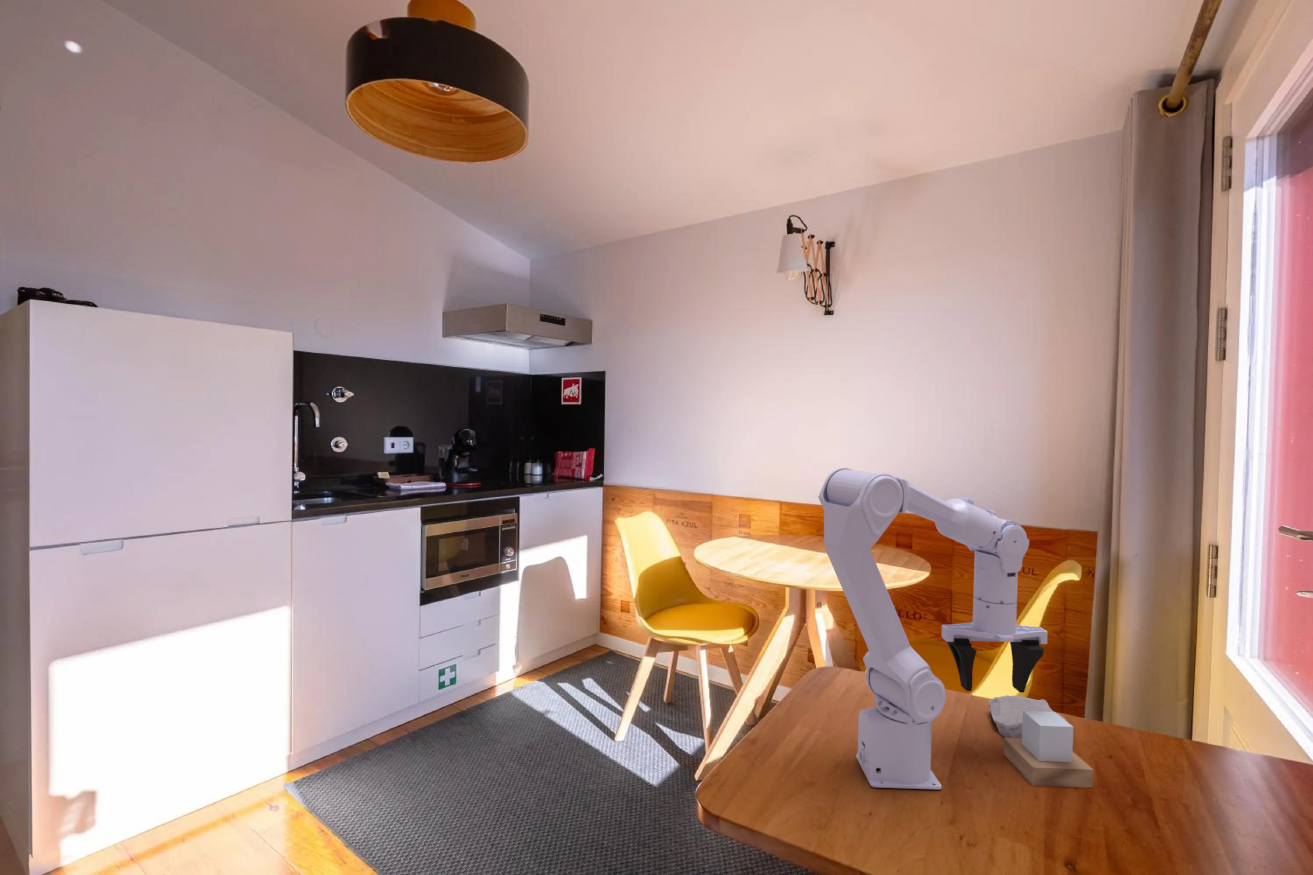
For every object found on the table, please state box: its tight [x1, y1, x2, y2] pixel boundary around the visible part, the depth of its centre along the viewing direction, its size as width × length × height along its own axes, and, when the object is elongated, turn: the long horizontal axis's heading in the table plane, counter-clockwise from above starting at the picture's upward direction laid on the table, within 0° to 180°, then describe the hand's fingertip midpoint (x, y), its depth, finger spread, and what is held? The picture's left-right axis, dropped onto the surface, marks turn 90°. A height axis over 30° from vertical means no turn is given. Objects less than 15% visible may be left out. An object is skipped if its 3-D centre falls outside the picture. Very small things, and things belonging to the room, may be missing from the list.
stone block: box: [988, 695, 1067, 738], centre depth 103 cm, size 12×5×10 cm
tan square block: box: [1003, 737, 1094, 789], centre depth 91 cm, size 8×8×3 cm
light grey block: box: [1022, 711, 1074, 762], centre depth 91 cm, size 4×4×5 cm
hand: (992, 688), depth 95 cm, fingers open, 7 cm apart
